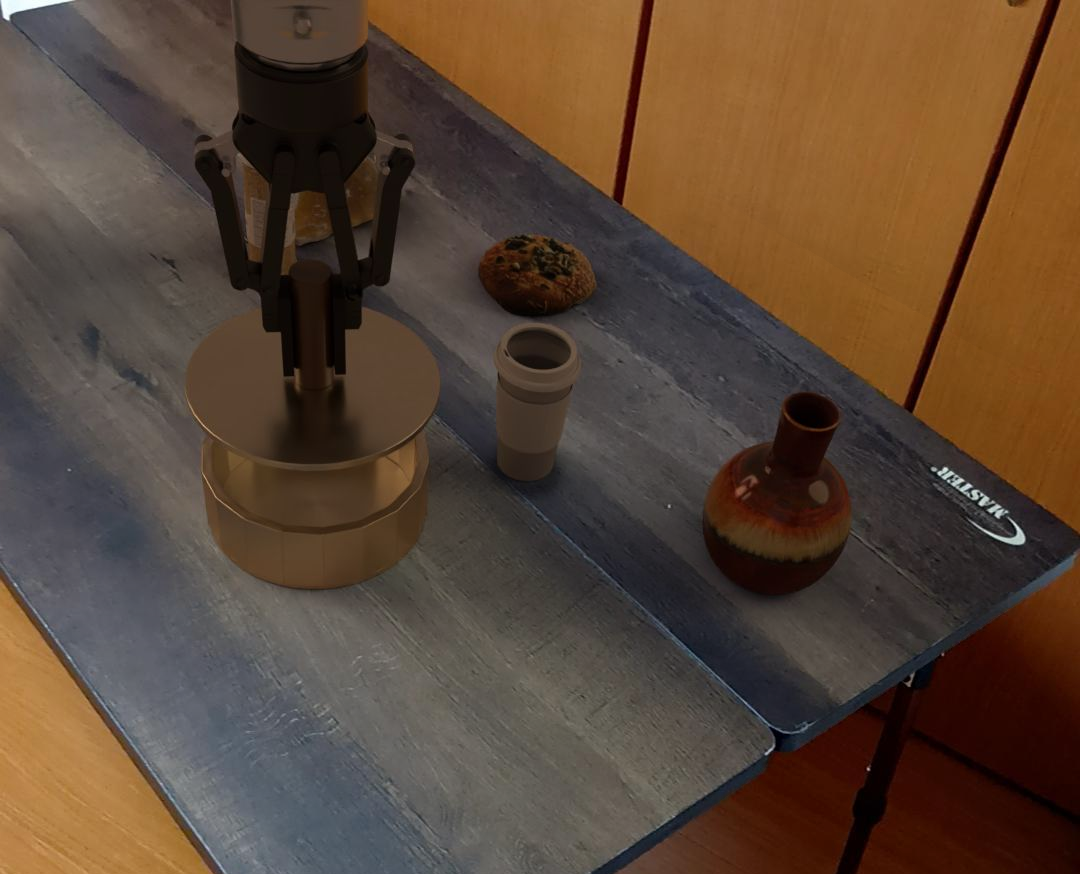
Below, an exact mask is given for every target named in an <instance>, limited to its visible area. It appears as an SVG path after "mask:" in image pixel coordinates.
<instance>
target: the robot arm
mask: <svg viewBox="0 0 1080 874" xmlns="http://www.w3.org/2000/svg"><path fill="white" fill-rule="evenodd" d="M229 1H230V10H231V22H232V23H231V24H232V33H233V36H234V38H235V39H236V41H235V44H234V48H233V53H234V64H235V65H234V66H235V67H234V68H235V78H236V89H237V90H236V92H237V104H238V109H237V113H236V115H235V117H234V119H233V121H232V125H231V130H230V131H228V132H225V133H223V134H221V135H219V136H216V137H214V138H213V137H212V136H210V135H209V134H200V135H198V136H197V137H196V138H195V140H194V167H195V170H196V171H197V173H198V174H199V176H200V178H201V179H202V181H203V182H204V183H205V185H206V186H207V188H208V189H209V191H210V194H211V198H212V203H213V207H214V213H215V216H216V221H217V227H218V231H219V235H220V240H221V244H222V249H223V254H224V258H225V263H226V268H227V273H228V277H229V282H230V285H231V287H232V288H233V289H234V290H236V291H246V290H247V289H249V290H252V291H255V292H257V293H258V295H259V297H260V307H261V309H262V323H263V328H264V330H265V331H266V333H268V332H281V345H282V361H283V377H293V376H295V374H294V355H293V336H292V317H291V298H290V288H289V275H281V269H282V261H283V252H284V243H285V235H286V226H287V218H288V210H289V208H290V200H291V194H294V195H295V194H299V192H303V191H313V192H317V193H325V196H326V202H327V207H328V210H329V215H330V221H331V226H332V231H333V234H332V236H333V241H334V246H335V251H336V256H337V261H338V267H339V272H340V273H332V304H333V345H334V369H335V375H346V344H345V330H352V329H359V328H360V326H361V324H362V307H363V297H364V290H365V289H367V288H368V287H370V286H375V287H379V288H381V287H385V286H387V285H388V284H390V283H389V282H390V281H391V274H392V266H393V258H394V251H395V244H396V237H397V229H398V223H399V222H398V221H399V213H400V206H401V202H400V200H401V201H402V191H403V188H404V186H405V184H406V182H407V181H408V179H409V177H410V176H411V174H412V172H413V170H414V168H415V166H416V158H415V153H414V149H413V143H412V138H411V137H410V136H409V135H408V134H406V133H397V134H396V135H394V136H391V135H389V134H386V133H385V132H383V131H380V130H377V129H376V123H375V121H374V119H373V118H372V116H371V114H370V112H369V50H368V47H367V45H366V41H367V40H368V37H369V35H368V33H369V2H368V1H369V0H229ZM239 152H240V153H241V154H242V155H243V156H244V158H245V159H246V160H247V161H248V162H249V163H250V164H251V165H252V166H253V167H254V168H255V170H256V171H257V172H258V173H259V174H260V175H261V176H262V177H263V178H264V179H265V180H266V182H267V193H266V203H265V213H264V223H263V233H262V243H261V252H260V261H259V262H255V261H252V260H249V251H248V247H247V243H246V238H245V233H244V228H243V222H242V218H241V212H240V208H239V203H238V197H237V193H236V190H235V183H234V179H233V174H234V173H235V172H236V169H237V158H236V156H237V155H238V154H240V153H239ZM371 152H372V153H373V154H374V155H373V158H374V162H375V166H376V169H377V170H378V171H379V172H378V179H377V188H376V196H375V205H374V213H373V219H372V221H371V222H372V223H371V231H370V239H369V247H368V248H369V249H368V256H367V257H364V258H361V259H359V256H358V250H357V246H356V245H357V244H356V239H355V233H354V229H353V228H354V227H352V222H351V217H350V211H349V205H348V200H347V194H346V189H345V183H346V182H347V180H348V179H349V178H350V177H351V175H352V174H353V173H354V172H355V171H356V169H357V168H358V167H359V166H360V164H361V163H362V162H363V161H364V159H365V158H366V157H367V156H368V157H369V155H370V153H371Z"/></svg>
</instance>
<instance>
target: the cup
mask: <svg viewBox="0 0 1080 874" xmlns="http://www.w3.org/2000/svg"><path fill="white" fill-rule="evenodd" d="M492 360H493V364H494V367H495V369H496V371H497V374H496V409H495V410H496V411H495V412H496V415H495V431H496V435H497V439H496V440H497V441H496V443H497V444H496V445H497V446H496V464H497V466H498V468H499V470H500V471H501V472H502V473H503V474H504V475H505V476H507V477H509V478H510V479H513V480H516V481H519V482H536V481H539V480H542V479H543V478H545V477H547V476H548V475H549V474H550V473H551V471H552V470H553V467H554V463H555V458H556V453H557V449H558V446H559V443H560V441H561V439H562V435H563V431H564V426H565V423H566V418H567V414H568V409H569V405H570V401H571V396H572V392H573V388H574V383H575V382H576V381H577V380H578V378H579V377H580V375H581V371H582V362H581V357H580V354H579V352H578V347H577V344H576V342H575V340H574V339H573V338H572V336H570V335H569V334H568V333H567V332H565V330H562V329H561V328H559V327H556V326H554V325H551V324H547V323H542V322H526V323H521V324H517V325H515V326H513V327H511V328H509V329H508V330H507V331H506V332H505V333H503V335H502V338H501V339H500V340H499V341H498V343H497V345H496V346H495V349H494V351H493V358H492Z"/></svg>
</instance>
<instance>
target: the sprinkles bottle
mask: <svg viewBox="0 0 1080 874" xmlns="http://www.w3.org/2000/svg"><path fill="white" fill-rule="evenodd" d="M238 154H239V158H240V159H239V160H240V161H241V164H242V176H243V194H244V196H243V199H244V200H243V201H244V216H245V232H246V237H247V246H248V247H247V251H248V257H249V260H252V261H255V262H259V261H260V252H261V243H262V233H263V223H264V213H265V203H266V193H267V182H266V180H265V179H264V178H263V177H262V176H261V175H260V174H259V173H258V172H257V171H256V170H255V168H254V167H253V166H252V165H251V164H250V163H249V162H248V161H247V160H246V159H245V158H244V156H243V155H242V154H241V153H240V152H239V153H238ZM294 210H295V194H291V200H290V208H289V210H288V218H287V226H286V235H285V243H284V252H283V261H282V269H281V275H289V269H290V267H291V266H292V265H293V264H294V263H295V262H298V258H297V256H296V244H295V236H296V234H295V211H294Z"/></svg>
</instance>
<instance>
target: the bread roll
mask: <svg viewBox="0 0 1080 874" xmlns="http://www.w3.org/2000/svg"><path fill="white" fill-rule="evenodd" d="M477 276H478V277H477V278H478V279H479V280H480V283H481V284H482V286H483V288H484V290H485V291H486V293H487V294H488V295H489V296H490V297H491V298H492V300H494V301H495V302H497V304H498V305H499V306H500V307H501V308H502V309H503V310H505V311H507V312H508V313H513V314H517V315H529V316H541V315H542V314H544V315H553V314H557V313H562V312H565V311H569V310H570V309H572V307H573V306H574V305H580V304H583V303H585V302H586V301H588V299H590V298H591V296H592V294H593V291H594V290H595V289H596V288H597V281H596V277H595V274H594V270H593V267H592V265H591V263H590V262H589V260H588V257H586V255H585V254H584V253H583V252H582V251H581V250H579V249H577V248H576V247H575V246H574V245H573V244H572V243H570V242H567V241H566V242H565V243H564V242H561V241H559V240H557V239H556V238H553V237H547V236H544V235H536V234H525V233H524V234H521V235H520V236H518V235H517V234H515V235H514V237H513V236H511V237H507V238H506V239H505V240H502V241H499V242H497V243H495V244H494V245H492V246H491V247H490V248H488V249H486V250H485V252H484V255H483V256H482V258H481V260H480V261H479V263H478V268H477Z"/></svg>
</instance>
